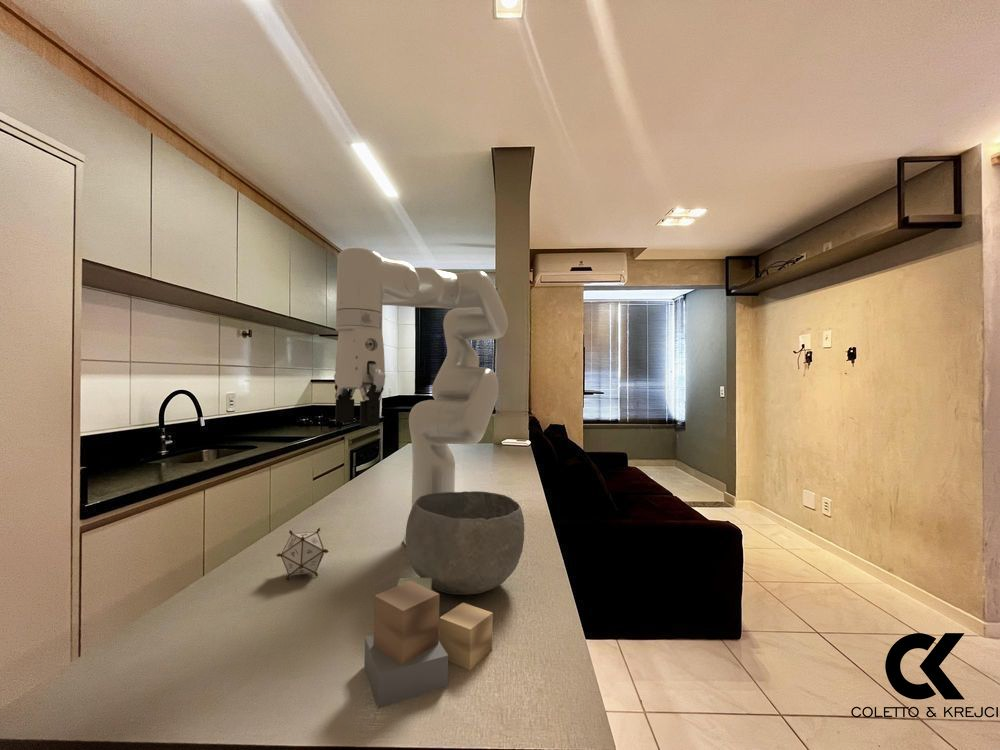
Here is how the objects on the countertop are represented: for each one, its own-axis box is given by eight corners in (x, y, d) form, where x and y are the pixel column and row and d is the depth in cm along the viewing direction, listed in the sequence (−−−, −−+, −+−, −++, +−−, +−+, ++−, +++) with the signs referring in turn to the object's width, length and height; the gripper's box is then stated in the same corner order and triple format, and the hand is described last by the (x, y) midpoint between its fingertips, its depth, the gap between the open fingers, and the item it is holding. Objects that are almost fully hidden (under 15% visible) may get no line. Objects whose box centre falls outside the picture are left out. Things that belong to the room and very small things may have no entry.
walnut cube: (409, 627, 58) (410, 580, 58) (438, 643, 55) (439, 593, 55) (373, 645, 54) (374, 595, 54) (402, 664, 50) (403, 610, 51)
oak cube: (462, 638, 62) (462, 602, 63) (491, 650, 60) (492, 612, 60) (438, 656, 58) (439, 617, 58) (469, 670, 56) (470, 629, 56)
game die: (306, 599, 80) (304, 568, 75) (267, 578, 82) (263, 545, 76) (338, 559, 87) (339, 528, 82) (303, 540, 89) (300, 508, 84)
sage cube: (431, 609, 70) (432, 577, 70) (429, 627, 65) (429, 592, 65) (398, 610, 70) (399, 578, 70) (394, 628, 65) (395, 593, 65)
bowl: (431, 630, 64) (433, 524, 65) (389, 576, 82) (391, 493, 82) (547, 598, 75) (548, 507, 75) (487, 556, 92) (489, 483, 93)
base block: (426, 653, 59) (427, 622, 59) (447, 690, 52) (448, 655, 52) (364, 669, 56) (365, 636, 56) (377, 711, 49) (378, 674, 49)
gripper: (404, 320, 73) (402, 426, 72) (358, 329, 86) (355, 419, 85) (360, 315, 68) (357, 429, 67) (318, 325, 81) (315, 420, 80)
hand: (356, 423), depth 76 cm, fingers open, 9 cm apart
